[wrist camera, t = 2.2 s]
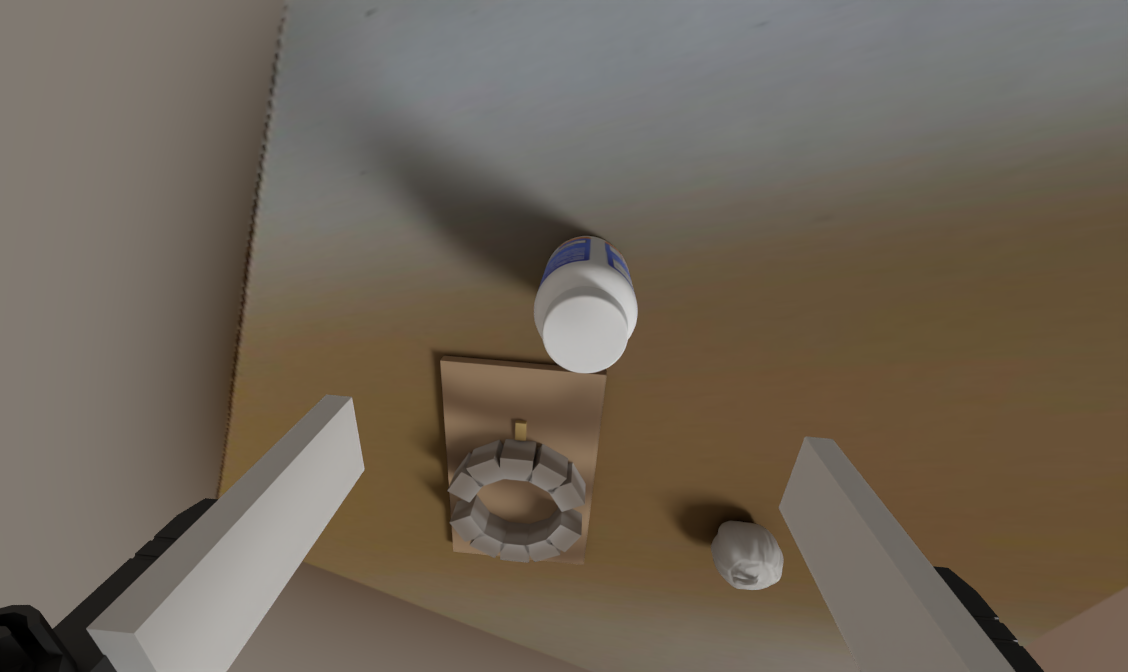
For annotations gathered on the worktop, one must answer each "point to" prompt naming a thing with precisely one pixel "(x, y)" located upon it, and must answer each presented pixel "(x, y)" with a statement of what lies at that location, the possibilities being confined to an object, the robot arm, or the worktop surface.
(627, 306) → the pill bottle
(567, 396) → the socket board
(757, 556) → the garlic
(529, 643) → the worktop surface
